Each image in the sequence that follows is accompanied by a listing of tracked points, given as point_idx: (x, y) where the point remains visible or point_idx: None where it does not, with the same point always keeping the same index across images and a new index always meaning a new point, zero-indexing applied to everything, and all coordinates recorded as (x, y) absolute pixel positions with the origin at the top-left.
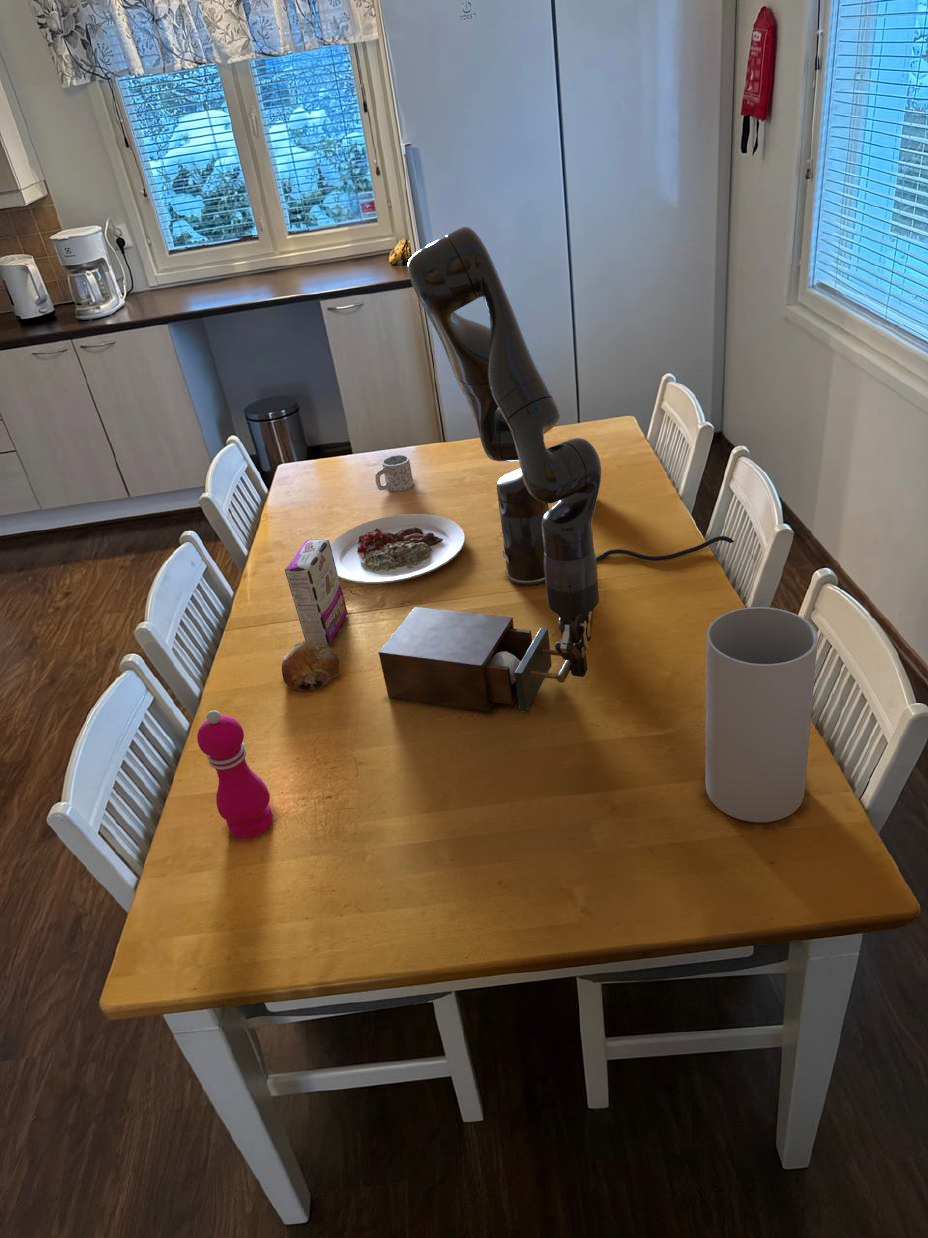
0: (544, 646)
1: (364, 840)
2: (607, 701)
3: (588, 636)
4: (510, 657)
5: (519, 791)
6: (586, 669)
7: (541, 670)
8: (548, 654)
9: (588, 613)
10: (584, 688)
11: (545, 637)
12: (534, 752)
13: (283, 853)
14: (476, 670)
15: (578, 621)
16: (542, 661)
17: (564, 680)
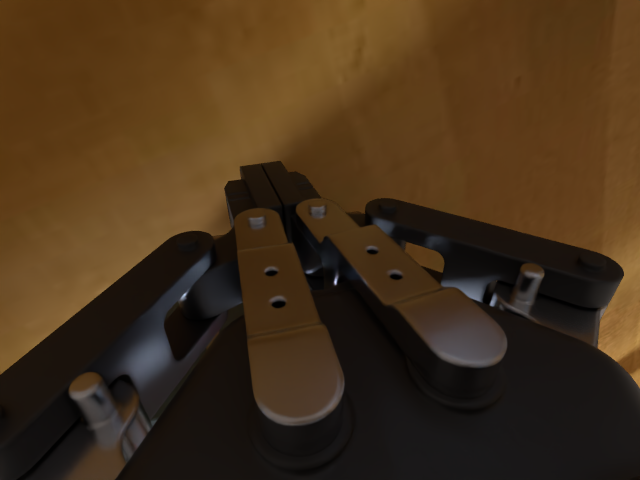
0: (194, 366)
1: (630, 294)
2: (226, 50)
3: (288, 248)
4: None
5: (583, 142)
6: (255, 168)
7: (239, 305)
8: (218, 331)
9: (335, 410)
10: (186, 158)
11: (173, 395)
12: (475, 168)
13: (626, 348)
14: None
15: (505, 398)
16: (225, 326)
17: (360, 213)
